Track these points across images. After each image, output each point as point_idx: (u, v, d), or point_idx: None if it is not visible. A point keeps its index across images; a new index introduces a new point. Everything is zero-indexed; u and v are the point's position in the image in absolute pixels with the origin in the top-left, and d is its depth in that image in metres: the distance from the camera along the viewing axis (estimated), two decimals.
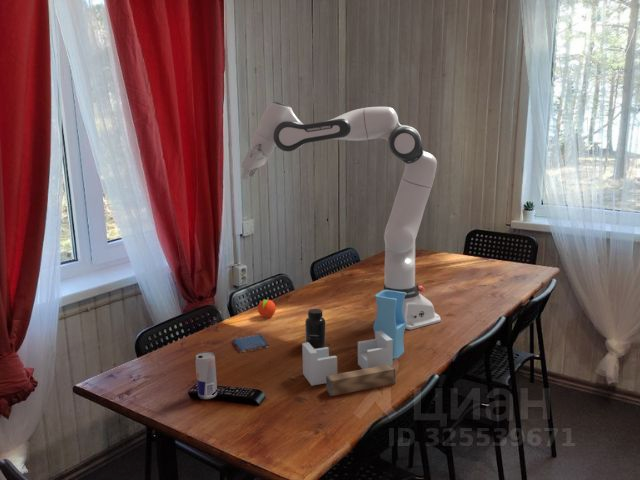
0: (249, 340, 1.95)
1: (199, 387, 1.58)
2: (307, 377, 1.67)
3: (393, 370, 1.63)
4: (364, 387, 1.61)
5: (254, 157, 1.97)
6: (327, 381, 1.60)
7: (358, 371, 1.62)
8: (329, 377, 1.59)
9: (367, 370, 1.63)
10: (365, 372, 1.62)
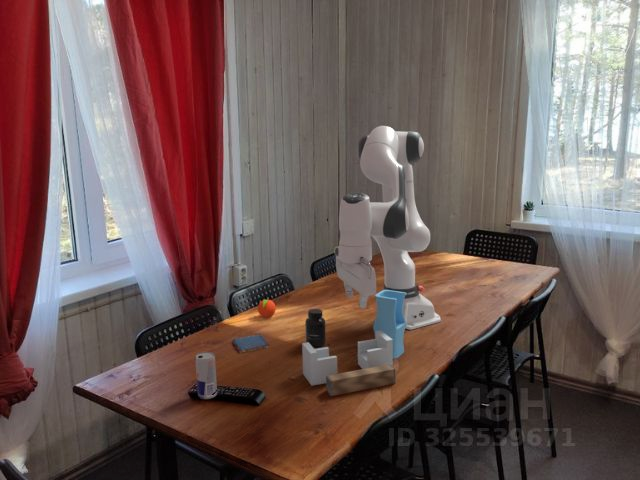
0: (249, 340, 1.95)
1: (199, 387, 1.58)
2: (307, 377, 1.67)
3: (393, 370, 1.63)
4: (364, 387, 1.61)
5: (374, 276, 1.47)
6: (327, 381, 1.60)
7: (358, 371, 1.62)
8: (329, 377, 1.59)
9: (367, 370, 1.63)
10: (365, 372, 1.62)
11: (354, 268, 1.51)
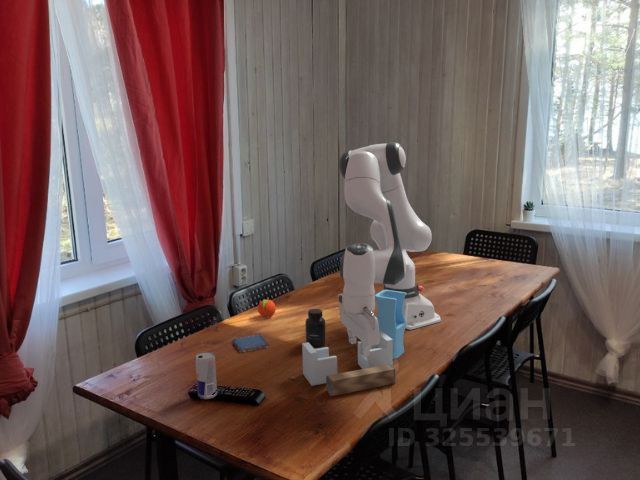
0: (249, 340, 1.95)
1: (199, 387, 1.58)
2: (307, 377, 1.67)
3: (393, 370, 1.63)
4: (364, 387, 1.61)
5: (377, 327, 1.50)
6: (327, 381, 1.60)
7: (358, 371, 1.62)
8: (329, 377, 1.59)
9: (367, 370, 1.63)
10: (365, 372, 1.62)
11: (358, 317, 1.54)
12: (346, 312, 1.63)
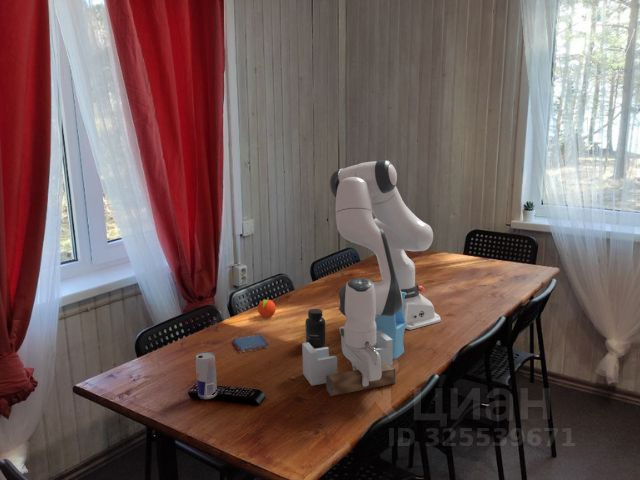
0: (249, 340, 1.95)
1: (199, 387, 1.58)
2: (307, 377, 1.67)
3: (393, 370, 1.63)
4: (364, 387, 1.61)
5: (379, 362, 1.52)
6: (327, 381, 1.60)
7: (358, 371, 1.62)
8: (329, 377, 1.59)
9: None
10: None
11: (360, 352, 1.56)
12: (348, 345, 1.65)
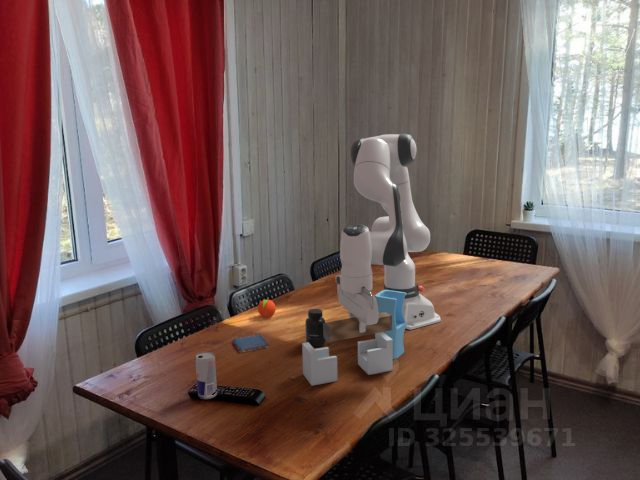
0: (249, 340, 1.95)
1: (199, 387, 1.58)
2: (307, 377, 1.67)
3: (389, 317, 1.64)
4: (361, 334, 1.62)
5: (376, 306, 1.52)
6: (324, 328, 1.60)
7: (355, 318, 1.63)
8: (326, 324, 1.60)
9: None
10: None
11: (356, 297, 1.57)
12: (344, 293, 1.65)
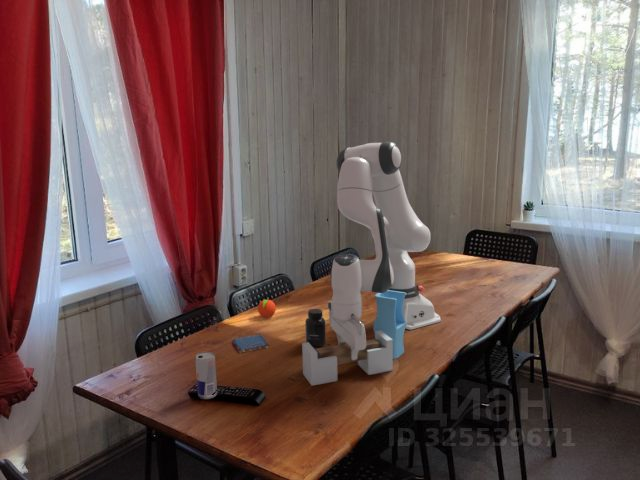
0: (249, 340, 1.95)
1: (199, 387, 1.58)
2: (307, 377, 1.67)
3: (378, 344, 1.72)
4: (350, 360, 1.70)
5: (364, 333, 1.60)
6: None
7: (345, 345, 1.71)
8: (317, 350, 1.68)
9: None
10: None
11: (346, 324, 1.64)
12: (335, 318, 1.73)
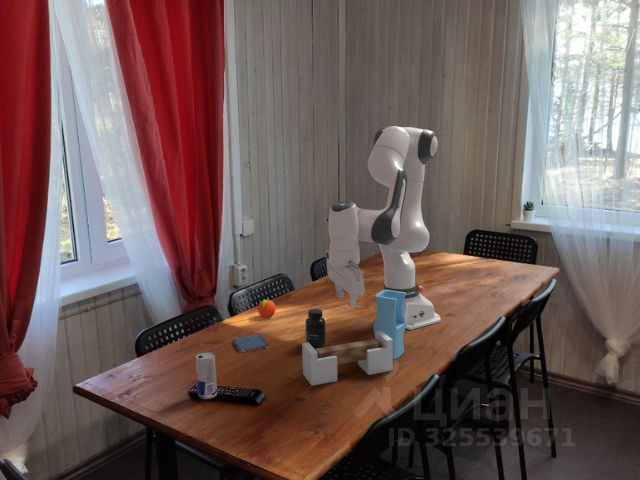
0: (249, 340, 1.95)
1: (199, 387, 1.58)
2: (307, 377, 1.67)
3: (378, 344, 1.72)
4: (350, 360, 1.70)
5: (362, 278, 1.60)
6: None
7: (345, 345, 1.71)
8: (317, 350, 1.68)
9: (353, 344, 1.71)
10: (351, 346, 1.70)
11: (344, 271, 1.64)
12: (333, 268, 1.73)
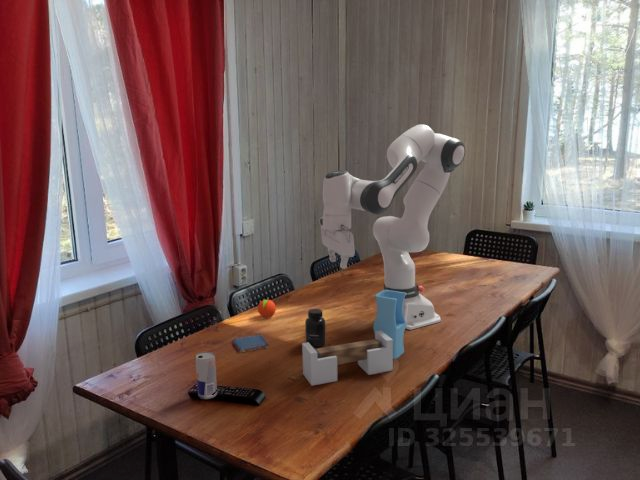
0: (249, 340, 1.95)
1: (199, 387, 1.58)
2: (307, 377, 1.67)
3: (378, 344, 1.72)
4: (350, 360, 1.70)
5: (352, 240, 1.72)
6: None
7: (345, 345, 1.71)
8: (317, 350, 1.68)
9: (353, 344, 1.71)
10: (351, 346, 1.70)
11: (336, 234, 1.76)
12: (326, 233, 1.85)
